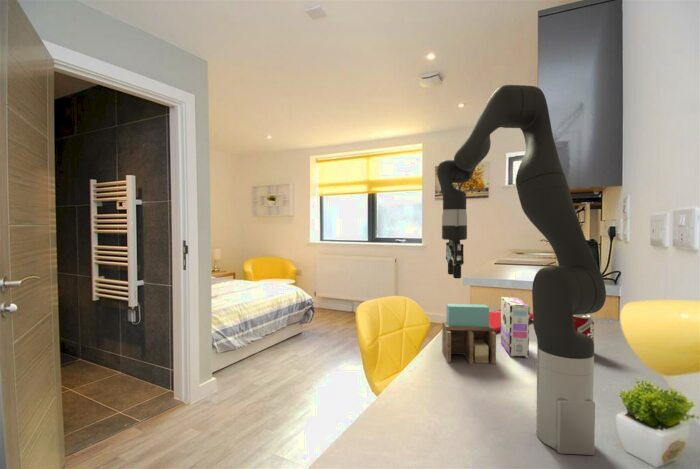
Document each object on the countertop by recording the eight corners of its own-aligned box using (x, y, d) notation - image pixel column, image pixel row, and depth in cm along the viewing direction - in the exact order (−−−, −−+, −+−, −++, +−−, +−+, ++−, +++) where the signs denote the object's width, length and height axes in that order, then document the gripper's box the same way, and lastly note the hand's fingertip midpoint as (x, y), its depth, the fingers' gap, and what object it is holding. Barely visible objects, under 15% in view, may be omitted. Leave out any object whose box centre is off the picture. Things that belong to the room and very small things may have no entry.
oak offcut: (488, 362, 106) (488, 346, 106) (474, 362, 107) (474, 345, 107) (482, 355, 112) (482, 339, 112) (469, 355, 113) (469, 339, 113)
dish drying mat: (444, 329, 142) (444, 320, 142) (502, 314, 166) (502, 306, 166) (478, 340, 129) (478, 329, 129) (536, 322, 153) (536, 313, 153)
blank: (448, 325, 110) (448, 306, 110) (446, 322, 114) (446, 303, 113) (488, 326, 108) (489, 307, 108) (485, 323, 112) (485, 304, 112)
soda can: (569, 353, 114) (570, 316, 113) (567, 347, 120) (568, 311, 119) (594, 357, 111) (595, 318, 110) (591, 350, 117) (592, 314, 116)
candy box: (529, 358, 110) (530, 305, 109) (509, 357, 111) (509, 304, 110) (517, 344, 123) (518, 296, 123) (499, 342, 124) (500, 296, 124)
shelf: (495, 364, 105) (496, 330, 105) (447, 362, 106) (447, 329, 106) (486, 353, 114) (487, 322, 114) (442, 352, 115) (442, 321, 115)
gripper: (438, 224, 118) (438, 273, 119) (446, 224, 104) (446, 279, 104) (461, 224, 118) (461, 273, 118) (472, 224, 103) (472, 279, 104)
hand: (454, 276), depth 111 cm, fingers open, 8 cm apart
